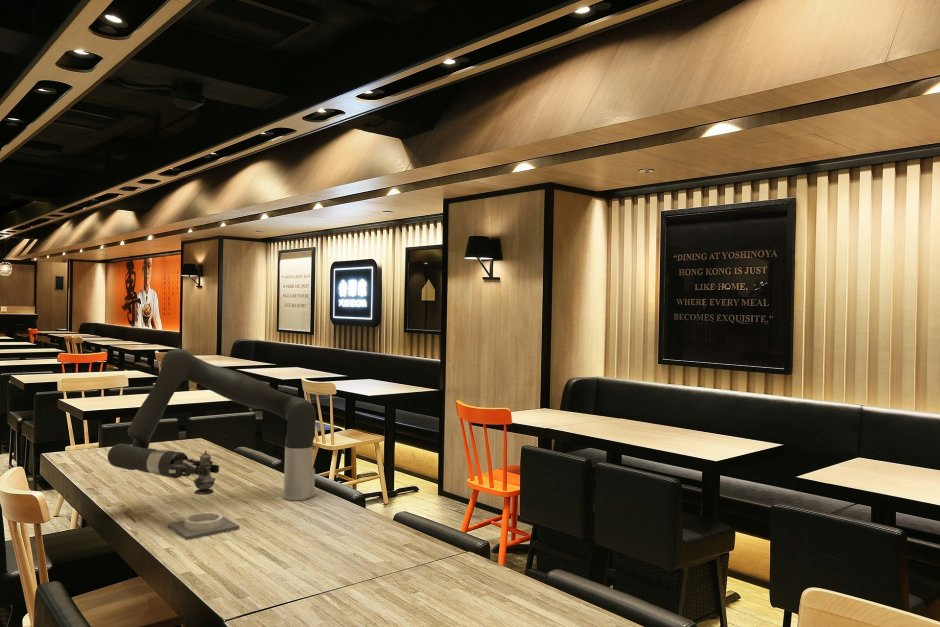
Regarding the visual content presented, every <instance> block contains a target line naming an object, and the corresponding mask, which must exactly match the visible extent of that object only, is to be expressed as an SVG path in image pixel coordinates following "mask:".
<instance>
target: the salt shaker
mask: <svg viewBox="0 0 940 627" xmlns="http://www.w3.org/2000/svg"><path fill="white" fill-rule="evenodd" d="M211 458H212V456H211V455H210V453H208V452H207V450H204V453H202V454H201V455H200V457H199V460H200V466H199V467H204V468H208V469H209V472H208V476H201V475H197V476H198V477H197V478H194V479H193V482H194V486H195V488H197V489H196V490H195V491H194V492H193V493H194V494H195V495H200V496H201V495H202V496H203V495H204V496H205V495H211V494H213V493H215V491H214V489H212V487H213V486H214V485H215V482H216V478H214V477H212V475H211V474H212V473H211V472H210V471H211V467H212V466H211V465H210V463H211V461H212V460H211Z"/></svg>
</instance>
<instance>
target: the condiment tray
mask: <svg viewBox="0 0 940 627" xmlns="http://www.w3.org/2000/svg"><path fill="white" fill-rule="evenodd" d="M167 527H168V528H169V529H170V528H171V529H172V532H174V531H175V532H174V533H176V535H178V534H179V536H180V537H181V536H182V537H181V538H183V539H184V538H185V539H184V540H186V541H187V540H188V539H189V540H194V539H198V538H203V536H204V537H208V536H212V535H217V534H218V533H219V534H223V533H227V531H228V532H232V531H231V530H233V531H237V529H238V530H240V525H239V524H237V523H235V522H234V521H232V520H230V519H229V518H227V517H225V516H224V515H222V514H221V513H217V512H200V513H199V512H198V513H193V514H191V515H188V516H186V517H185V519H184V520H181V521H175V522H171V523H170V522H169V523H168V524H167ZM171 529H170V530H171ZM222 532H223V533H222ZM193 538H194V539H193ZM189 540H188V541H189Z"/></svg>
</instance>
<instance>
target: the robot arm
mask: <svg viewBox="0 0 940 627" xmlns="http://www.w3.org/2000/svg"><path fill="white" fill-rule="evenodd" d="M160 365H161V367H160V369H159V373H158V375H157V378H156V381H155V382H154V384H153V386H152V388H151V390H150V392H149V393H148V395H147V396H146V398H145V400H144V401H143V402H142V404H141V405H140V407H139V409H138V410H137V412H136V414H135V415H134V418H133V419H132V421H131V423H130V425H129V427H128V429H127V434H128V436H129V437H130V438H132V444H126V443H117V444H115V445H113V446H112V447H111V448H110V449H109V451H108V453H107V461H108V462H109V464H110V465H111V466H113V467H115V468H120V469H123V470H127V471H128V470H130V471H135V470H136V471H139V472H143V473H147V474H148V473H149V474H153V475H156V476H160V477H167V478H172V479H179V478H181V477H190V476H199V475H201V476H208V472H209V469H208V468H204V467H199V466H200V459H195V458H189V457H188V455H187V454H186V453H184V452H182V451H176V450H170V449H168V450H167V449H157V448H149V447H150V444H151V438H152V436H153V434H154V433H155V431H156V429H157V427H158V425H159V424H160V421H161V419H162V417H163V415H164V413H165V411H166V409H167V407H168V404H169V402H170V401H171V399H172V397H173V395H175V392H176V391H177V389H178V388H179V386H180V385H181V384H182V382H183V381H184V380H185V381H187V382H191V383H195V384H198V385H200V386H202V387H204V388H206V389H208V390H210V391H211V392H213V393H215V394H217V395H219V396H221V397H223V398H225V399H227V400H230V401H233V402H235V403H237V404H240V405H243V406H246V407H250V408H253V409H258V410H259V409H260V410H265V411H268V412H271V413H273V414H275V415H277V416H279V417H281V418H283V419H284V420H287V426H286V427H287V428H286V437H285V440H284V469H283V470H284V473H283V474H284V477H283V479H284V480H283V499H285V500H288V501H304V500H308V498H309V499H311V498H312V497H313V498H314V497H315V486H316V484H315V482H316V481H315V480H316V479H315V478H316V475H315V474H316V469H315V467H314V466H313V464H314V461H313V460H314V459H313V458H314V440H315V436H316V419H317V417H316V416H317V415H316V408H315V407H314V404H312V403H311V402H310V401H309V400H307V399H306V398H303V397H299V396H295V395H292V394H288V393H285V392H281V391H279V390H277V389H274V388H273V387H271V386H269V385H268V384H266V383H264V382H262V381H260V380H258V379H256V378H254V377H252V376H249V375H247V374H244V373H241V372H238V371H236V370H232V369H229V368H227V367H222V366H217V365H214V364H212V363H209V362H207V361H204V360H203V359H201V358H199V357H197V356H194V355H193V354H192V353H190V352H188V350H185V349H182V348H174V349H170V350H168V351H167V352H166V353H165V354H164V355H163V356H162V359H161V364H160ZM210 465H211V466H212V467H211V471H210V473H211V474H212V473H213V474H218V473H220V465H219V464H214V462H213V461H212V460H211V463H210Z"/></svg>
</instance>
